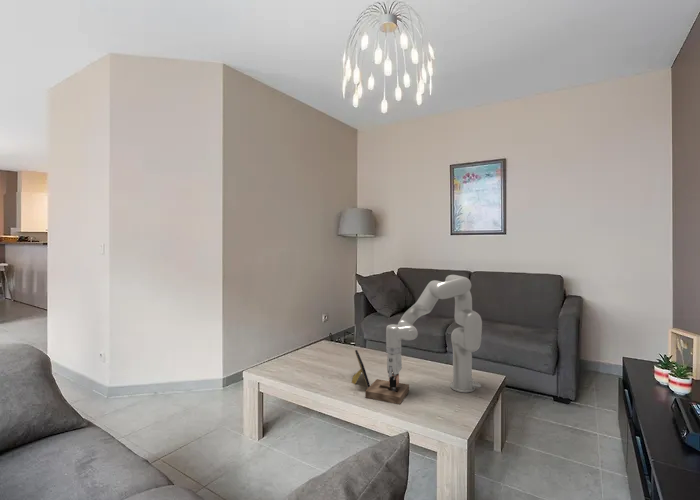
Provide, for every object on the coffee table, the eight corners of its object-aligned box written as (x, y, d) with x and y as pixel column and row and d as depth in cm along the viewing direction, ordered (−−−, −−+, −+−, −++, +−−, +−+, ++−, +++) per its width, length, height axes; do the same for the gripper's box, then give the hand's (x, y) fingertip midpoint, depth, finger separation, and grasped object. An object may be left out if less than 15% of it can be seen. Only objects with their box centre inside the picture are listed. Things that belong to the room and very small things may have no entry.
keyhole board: (409, 391, 182) (409, 384, 182) (400, 404, 168) (399, 397, 168) (376, 385, 190) (376, 379, 190) (365, 397, 176) (365, 390, 176)
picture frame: (371, 391, 183) (368, 363, 182) (354, 394, 182) (351, 366, 181) (364, 374, 206) (361, 349, 205) (349, 376, 205) (346, 351, 204)
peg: (399, 393, 179) (399, 374, 178) (397, 397, 175) (396, 377, 174) (391, 392, 180) (391, 373, 180) (388, 395, 176) (388, 376, 176)
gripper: (395, 355, 168) (396, 393, 168) (405, 345, 183) (406, 380, 183) (380, 353, 171) (381, 390, 171) (392, 344, 186) (392, 378, 186)
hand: (394, 385), depth 177 cm, fingers closed on peg, 4 cm apart
